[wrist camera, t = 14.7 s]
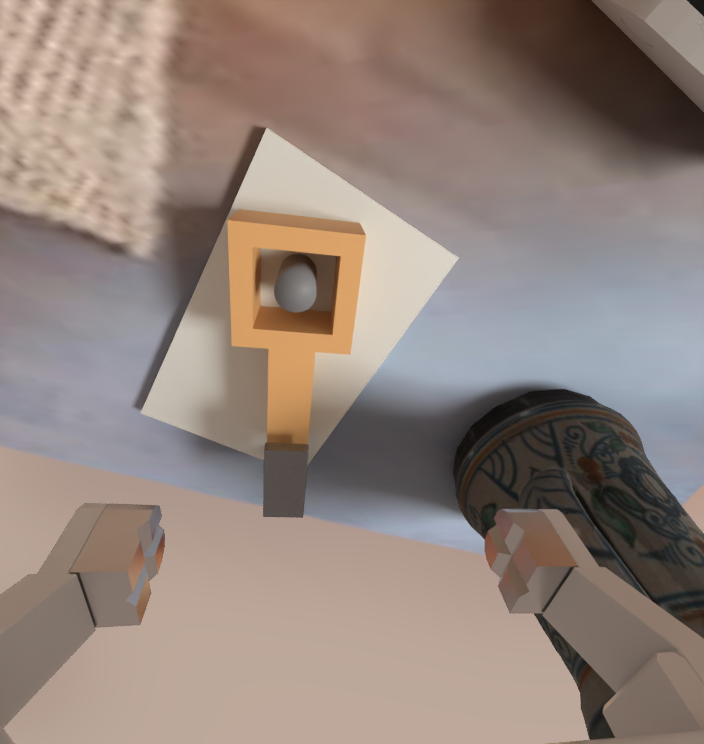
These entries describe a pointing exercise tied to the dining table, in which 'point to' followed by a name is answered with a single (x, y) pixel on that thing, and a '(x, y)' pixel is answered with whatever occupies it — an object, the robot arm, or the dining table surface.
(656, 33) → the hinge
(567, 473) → the beer stein
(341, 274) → the link
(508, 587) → the robot arm
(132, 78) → the dining table surface
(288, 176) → the board
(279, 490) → the bracket
